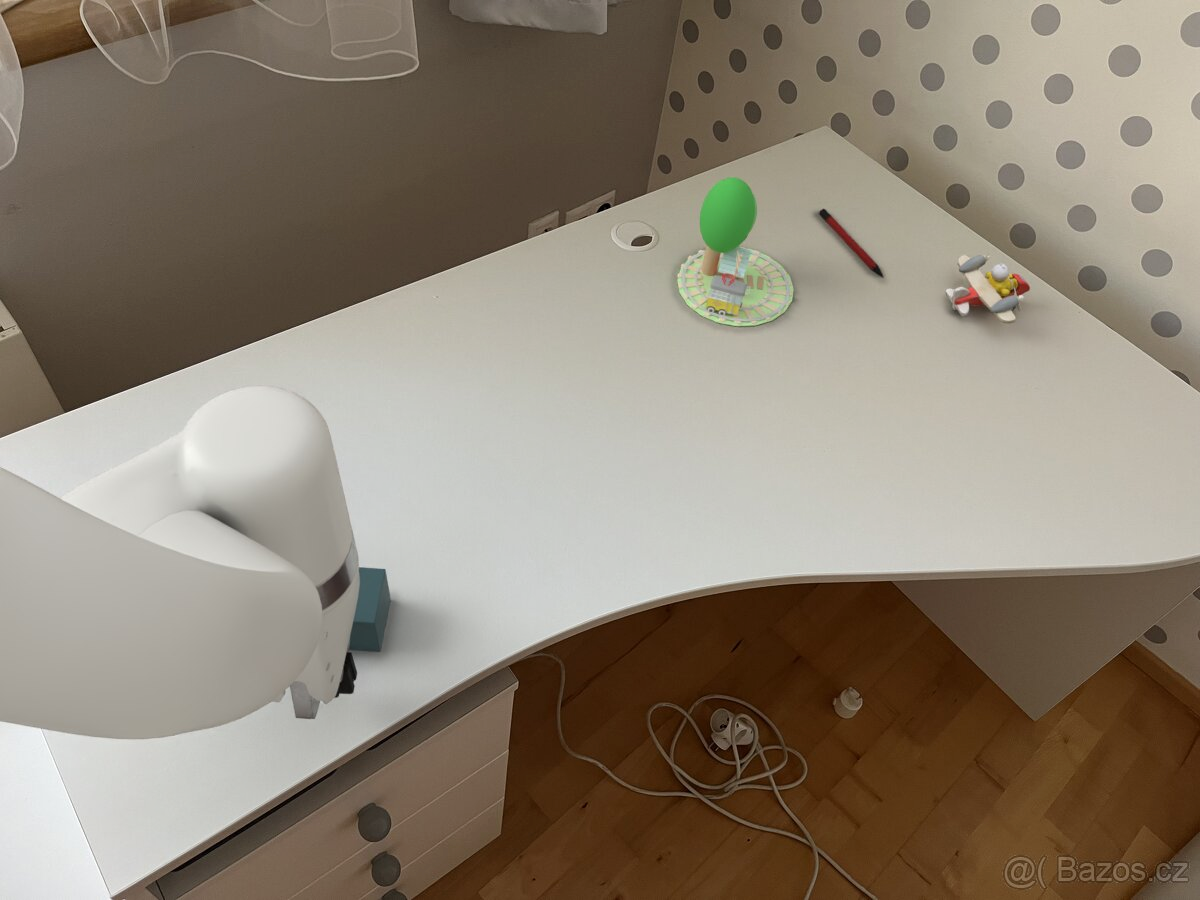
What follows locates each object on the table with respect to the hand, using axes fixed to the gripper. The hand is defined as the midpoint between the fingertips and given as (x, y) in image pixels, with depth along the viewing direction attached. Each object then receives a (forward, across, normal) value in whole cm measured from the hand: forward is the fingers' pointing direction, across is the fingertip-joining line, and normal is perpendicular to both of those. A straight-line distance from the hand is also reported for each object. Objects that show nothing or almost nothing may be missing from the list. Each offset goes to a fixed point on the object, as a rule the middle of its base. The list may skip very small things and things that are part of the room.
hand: (334, 683), depth 68 cm
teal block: (+4, -7, 0) cm, 8 cm away
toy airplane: (+4, -55, +66) cm, 86 cm away
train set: (+4, -55, +36) cm, 66 cm away
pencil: (+5, -65, +52) cm, 83 cm away
